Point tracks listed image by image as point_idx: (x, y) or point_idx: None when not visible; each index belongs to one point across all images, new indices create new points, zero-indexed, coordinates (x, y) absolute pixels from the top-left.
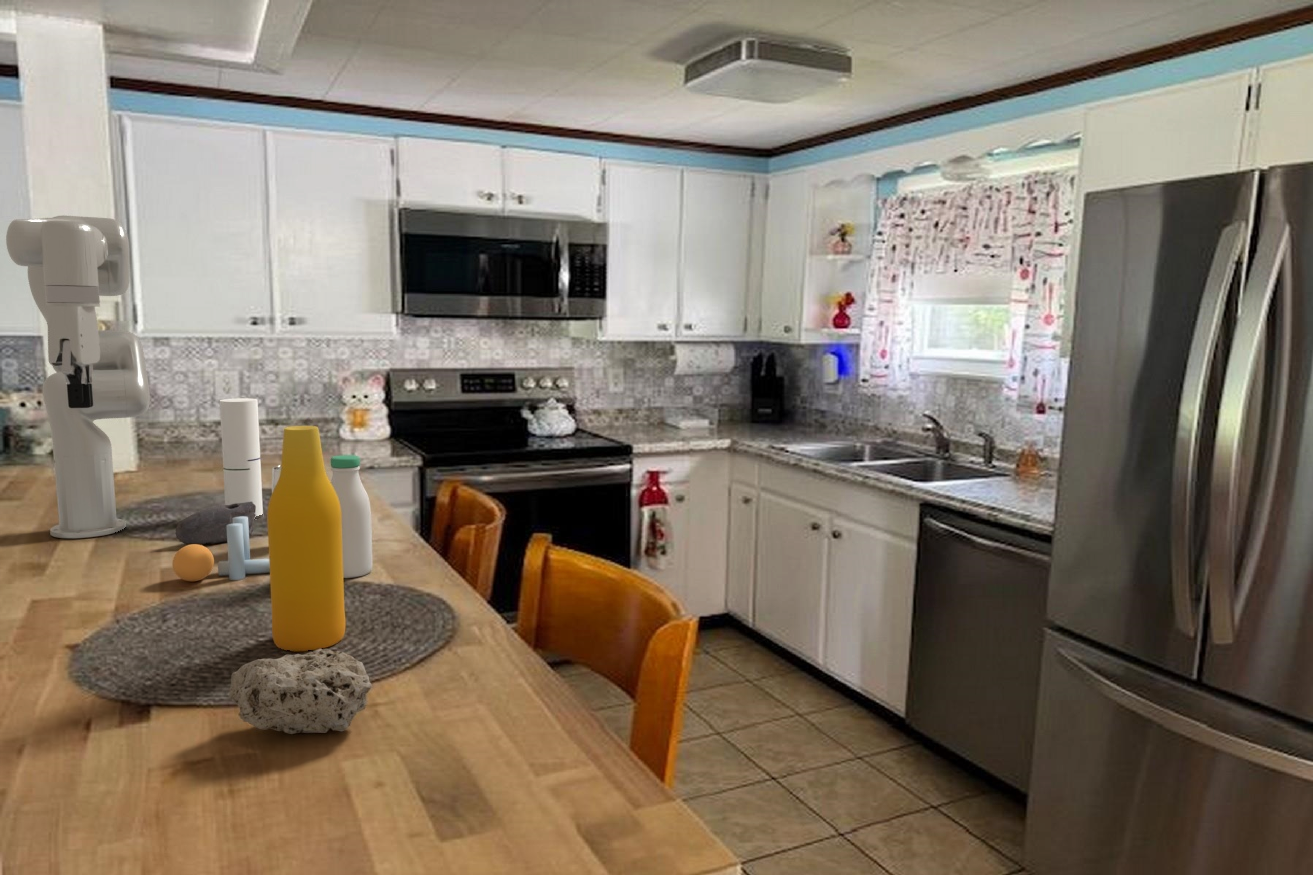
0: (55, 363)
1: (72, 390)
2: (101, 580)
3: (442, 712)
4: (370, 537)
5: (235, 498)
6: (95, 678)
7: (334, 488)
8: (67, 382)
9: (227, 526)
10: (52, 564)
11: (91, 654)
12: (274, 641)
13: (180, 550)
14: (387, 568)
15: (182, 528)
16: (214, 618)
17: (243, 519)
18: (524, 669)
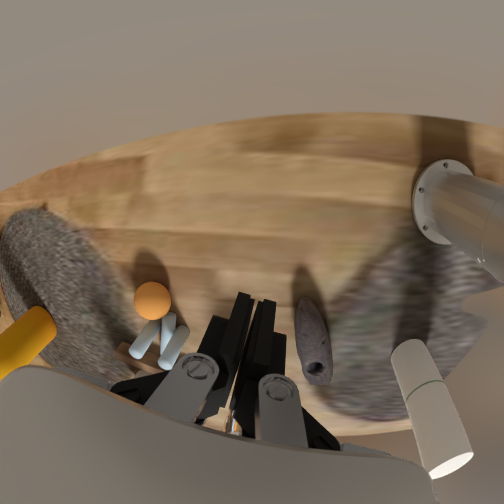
0: (123, 411)
1: (200, 348)
2: (190, 213)
3: (3, 328)
4: None
5: (403, 365)
6: (14, 224)
7: None
8: (181, 360)
9: (131, 347)
10: (292, 157)
11: (34, 219)
12: (35, 306)
13: (140, 298)
14: None
15: (299, 309)
16: (72, 288)
17: (159, 364)
18: (29, 363)
